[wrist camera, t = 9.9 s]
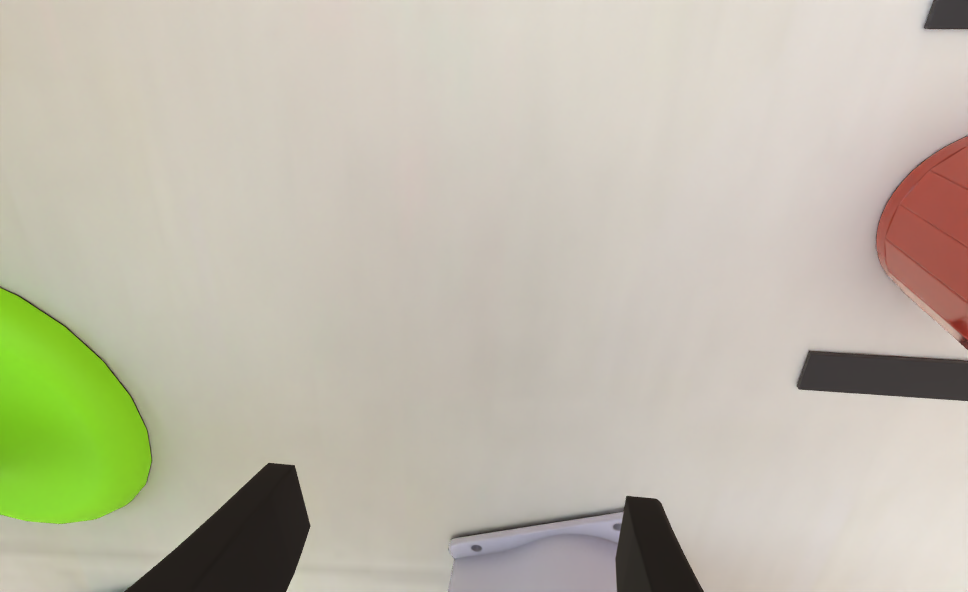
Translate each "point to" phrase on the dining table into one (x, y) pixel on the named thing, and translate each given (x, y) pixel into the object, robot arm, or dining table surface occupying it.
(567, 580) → the robot arm
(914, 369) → the tape bay
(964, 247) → the tumbler
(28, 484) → the wineglass
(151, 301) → the dining table surface
